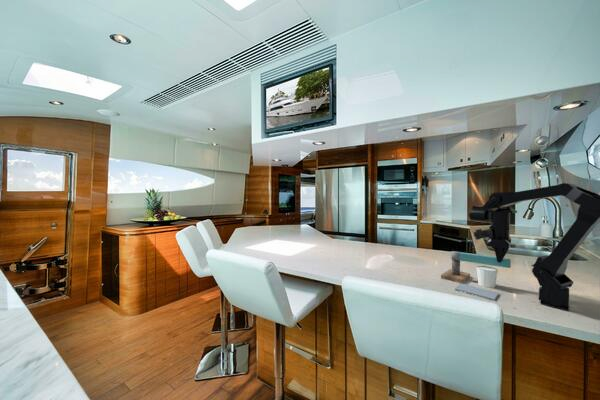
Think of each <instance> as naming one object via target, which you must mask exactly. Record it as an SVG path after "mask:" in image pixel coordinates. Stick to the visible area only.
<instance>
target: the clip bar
mask: <svg viewBox="0 0 600 400" xmlns="http://www.w3.org/2000/svg"><path fill="white" fill-rule="evenodd" d="M450 254H451V256H450V257H451V260H452V259H453V260H458V261H460V262H466V263H467V262H468V263H474V264H480V265H485V266H494V267H495V266H496V267H499V268H500V267H501V268H506V269H507V268H508V269H511V267H512V266H511V263H512V260H511V258H507V257H504V258H503V260H502V262H501V263H499V262H497V258H496V256H492V255H484V254H477V253H470V252H469V253H468V252H462V251H458V250H457V251H454V250H451V253H450Z"/></svg>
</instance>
